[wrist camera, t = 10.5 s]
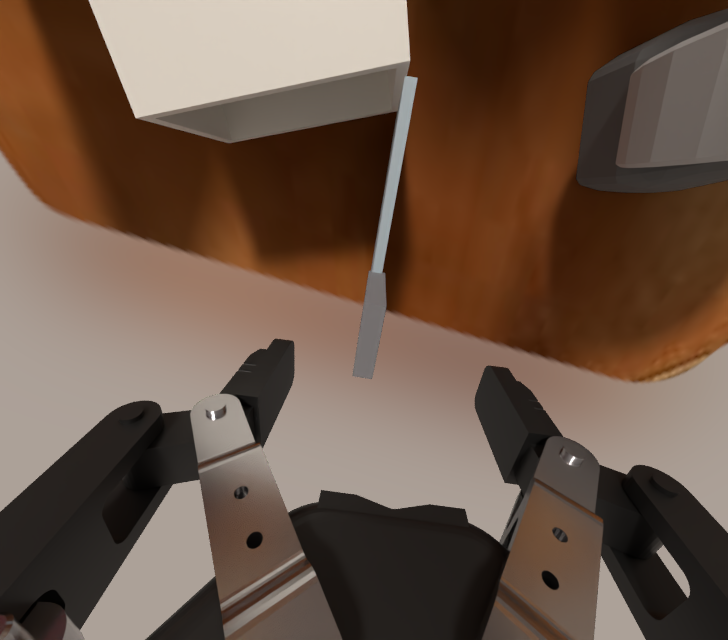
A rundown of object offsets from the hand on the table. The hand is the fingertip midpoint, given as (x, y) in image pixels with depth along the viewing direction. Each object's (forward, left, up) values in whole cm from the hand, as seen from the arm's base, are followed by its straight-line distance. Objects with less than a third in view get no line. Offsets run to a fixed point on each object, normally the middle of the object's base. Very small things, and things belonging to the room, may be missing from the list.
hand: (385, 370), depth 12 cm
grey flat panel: (-1, -5, -17) cm, 17 cm away
